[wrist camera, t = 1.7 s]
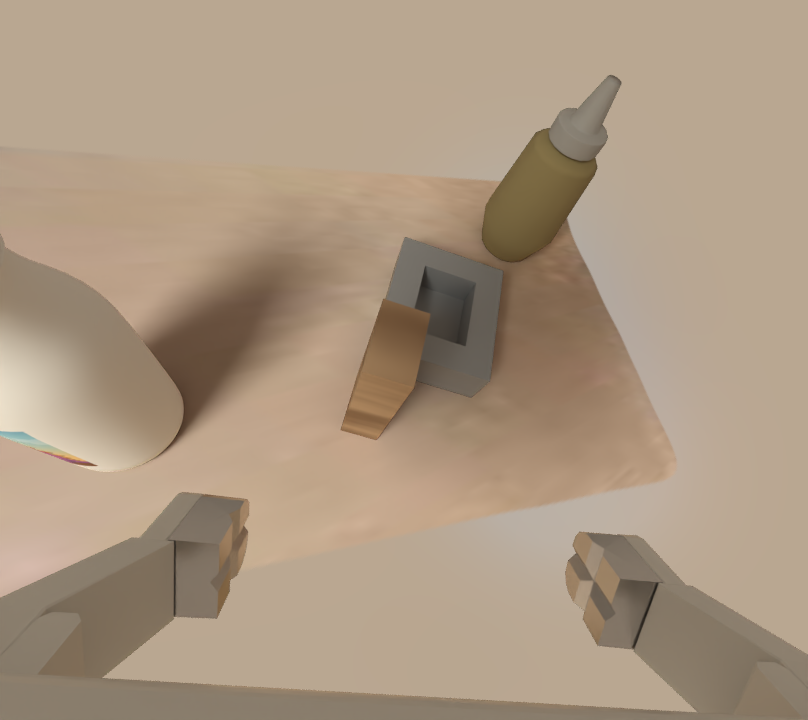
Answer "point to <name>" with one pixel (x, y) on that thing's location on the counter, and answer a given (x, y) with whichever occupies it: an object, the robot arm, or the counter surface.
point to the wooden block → (386, 369)
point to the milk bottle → (78, 373)
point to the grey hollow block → (450, 314)
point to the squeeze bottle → (548, 179)
